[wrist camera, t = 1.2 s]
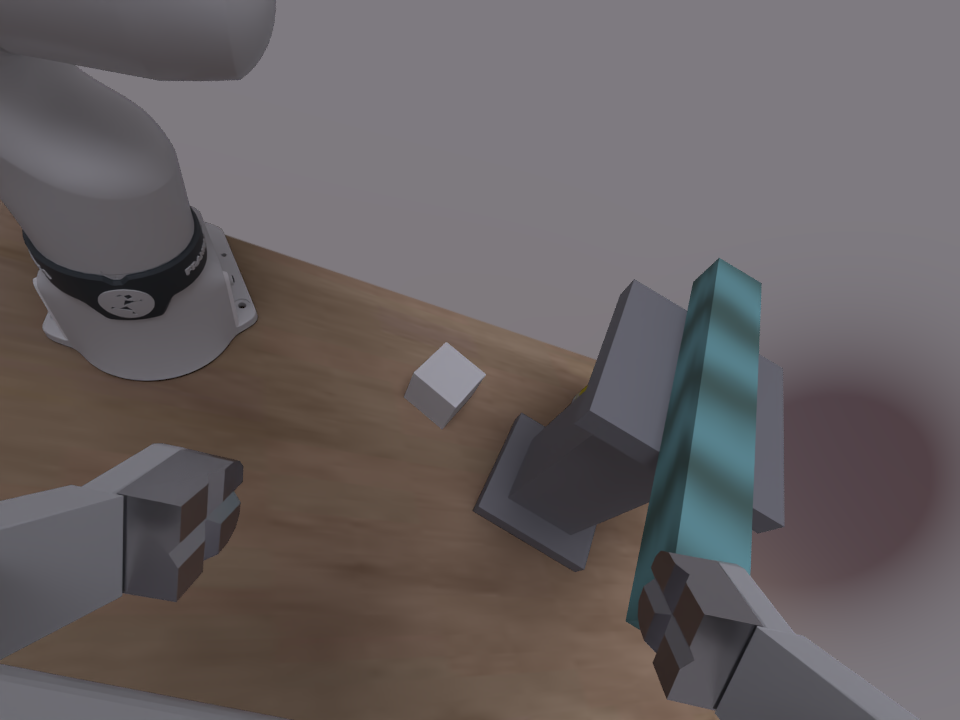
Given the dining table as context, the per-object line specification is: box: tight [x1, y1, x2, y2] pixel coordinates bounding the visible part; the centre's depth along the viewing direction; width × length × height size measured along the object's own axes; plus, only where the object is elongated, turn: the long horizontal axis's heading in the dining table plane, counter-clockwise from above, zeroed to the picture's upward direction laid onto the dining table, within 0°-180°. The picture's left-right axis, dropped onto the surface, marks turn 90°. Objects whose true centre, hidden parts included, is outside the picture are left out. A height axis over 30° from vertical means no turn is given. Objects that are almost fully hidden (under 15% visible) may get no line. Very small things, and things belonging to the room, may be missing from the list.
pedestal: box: [473, 279, 784, 572], centre depth 42 cm, size 14×14×26 cm
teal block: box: [626, 258, 761, 630], centre depth 29 cm, size 28×4×3 cm, turn 155°
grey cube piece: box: [404, 342, 486, 429], centre depth 52 cm, size 6×6×6 cm
